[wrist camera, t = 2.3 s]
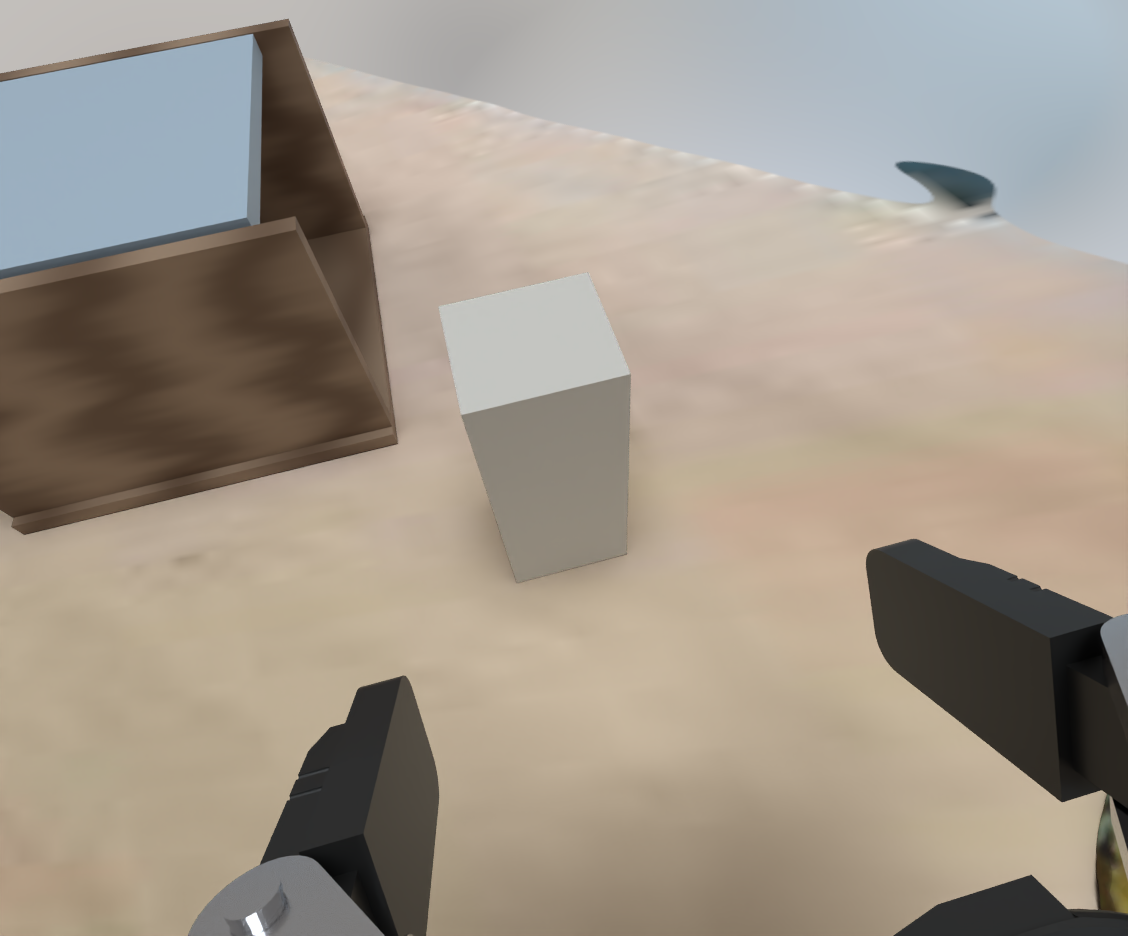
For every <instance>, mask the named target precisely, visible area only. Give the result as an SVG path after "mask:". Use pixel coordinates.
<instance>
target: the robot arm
mask: <svg viewBox="0 0 1128 936" xmlns="http://www.w3.org/2000/svg"><path fill="white" fill-rule="evenodd" d="M866 570H867V577H868V584H869V592H870V599H871V606H872V613H873V621H874V628H875V635H876V639H877V642H878V645H879V648H880V650H881V652H882V654H883V656H884V658H885V659H886V661H887V662H888V664H889V665H890V666H891V667H892V668H893V669H894V670H895V671H896V672H897V673H898V674H900V675H901V676H902V677H903V678H905V679H906V680H907V681H909V682H910V683H911V684H912V685H914V686H915V687H916V688H917V689H919V690H920V691H921V692H922V693H924V694H925V695H926V696H928V697H929V698H930V699H931V700H933V701H934V702H935V703H936V704H938V705H939V706H940V707H942V708H943V709H944V710H945V711H947V712H948V713H949V714H950V715H952V716H953V717H954V718H955V719H957V720H958V721H959V722H961V723H962V724H963V725H964V726H966V727H967V728H968V729H969V730H971V731H972V732H973V733H975V734H976V735H977V736H978V737H980V738H981V739H982V740H983V741H985V742H986V743H987V744H989V745H990V746H991V747H992V748H994V749H995V750H996V751H997V752H999V753H1000V754H1001V755H1002V756H1004V757H1005V758H1006V759H1008V760H1009V761H1010V762H1011V763H1013V764H1014V765H1015V766H1016V767H1018V768H1019V769H1020V770H1022V771H1023V772H1024V773H1025V774H1027V775H1028V776H1029V777H1030V778H1032V779H1033V780H1034V781H1035V782H1037V783H1038V784H1039V785H1041V786H1042V787H1043V788H1044V789H1046V790H1047V791H1048V792H1049V793H1051V794H1052V795H1053V796H1055V797H1056V798H1057V799H1058V800H1060V801H1061V802H1065V801H1068V800H1071V799H1074V798H1078V797H1081V796H1084V795H1087V794H1090V793H1094V792H1097V791H1100V790H1103V791H1104V792H1105V793H1107V794H1108V795H1110V812H1111V822H1112V826H1113V829H1114V833H1115V836H1116V840H1117V844H1118V847H1119V851H1120V854H1121V858H1122V862H1123V865H1124V869H1125V872H1126V876H1127V880H1128V614H1125V615H1121V616H1117V617H1115V618H1113V617H1111V616H1108V615H1106V614H1104V613H1101V612H1099V611H1097V610H1095V609H1092V608H1090V607H1088V606H1085V605H1083V604H1081V603H1078V602H1076V601H1074V600H1071V599H1069V598H1067V597H1064V596H1062V595H1060V594H1057V593H1055V592H1053V591H1050V590H1048V589H1043V590H1042V589H1041V588H1040V586H1039V585H1036V584H1034V583H1032V582H1030V581H1027V580H1025V579H1023V578H1022V579H1018V578H1017V576H1016V575H1013V574H1011V573H1009V572H1006V571H1004V570H1002V569H999V568H997V567H995V566H992V565H990V564H986V563H981V562H976V561H971V560H966V559H961V558H958V557H956V556H954V555H951V554H949V553H947V552H945V551H942V550H940V549H938V548H936V547H933V546H931V545H929V544H927V543H924V542H922V541H920V540H917V539H910V540H907V541H903V542H899V543H896V544H892V545H888V546H885V547H881V548H877V549H873V550H871V551H870V552H869V553H868V555H867V559H866ZM298 776H299V779H298V780H296V781H295V784H294V786H293V788H292V791H291V793H290V795H289V796H290V800H288V801H287V802H286V805H285V807H284V809H283V812H282V814H281V816H280V819H279V821H278V823H277V826H276V828H275V830H274V833H273V835H272V837H271V840H270V842H269V844H268V847H267V849H266V851H265V854H264V856H263V858H262V861H261V863H260V865H259V866H257V867H255V868H253V869H251V870H249V871H248V872H246V873H244V874H243V875H241V876H240V877H238V878H237V879H235V880H234V881H233V882H231V883H230V884H229V885H227V886H226V887H225V888H224V889H223V890H222V891H220V892H219V893H218V894H217V895H216V896H215V897H214V898H213V899H212V900H211V901H210V902H209V903H208V904H207V906H206V907H205V908H204V909H203V911H202V912H201V913H200V914H199V916H198V917H197V919H196V921H195V922H194V924H193V925H192V928H191V930H190V932H189V934H188V936H426V929H427V919H428V909H429V898H430V888H431V877H432V867H433V856H434V846H435V836H436V825H437V815H438V804H439V786H438V777H437V771H436V766H435V762H434V758H433V754H432V751H431V748H430V745H429V741H428V738H427V735H426V732H425V728H424V725H423V722H422V719H421V715H420V712H419V709H418V706H417V702H416V699H415V696H414V693H413V690H412V687H411V684H410V682H409V680H408V678H407V677H406V676H400V677H397V678H393V679H389V680H386V681H382V682H378V683H375V684H371V685H367V686H364V687H360V688H359V689H358V690H357V692H356V695H355V698H354V701H353V703H352V706H351V709H350V712H349V714H348V717H347V720H346V723H345V724H341V725H337V726H334V727H330V728H329V729H328V730H327V732H326V733H325V734H324V735H323V736H322V737H321V738H320V739H319V740H318V741H317V742H316V744H315V745H314V746H313V747H312V748H311V749H310V750H309V751H308V754H307V756H306V758H305V761H304V763H303V765H302V768H301V770H300V772H299V774H298ZM894 936H1128V913H1121V912H1114V911H1106V910H1088V909H1066V908H1065V907H1064V906H1063V905H1062V904H1061V903H1060V902H1059V901H1058V900H1057V899H1056V898H1055V897H1054V896H1053V895H1052V894H1051V893H1050V892H1049V891H1048V890H1047V889H1046V888H1045V887H1044V886H1042V885H1041V884H1040V883H1039V882H1038V881H1037V880H1036V879H1035V878H1034V877H1033V876H1032V875H1030V876H1026V877H1023V878H1020V879H1017V880H1014V881H1011V882H1007V883H1004V884H1001V885H998V886H995V887H992V888H989V889H985V890H982V891H979V892H976V893H973V894H970V895H967V896H963V897H960V898H957V899H954V900H951V901H948V902H945V903H941V904H938V905H936V906H935V907H934V908H932V909H931V910H929V911H928V912H926V913H925V914H924V915H922V916H921V917H919V918H918V919H916V920H915V921H914V922H912V923H911V924H909V925H908V926H906V927H905V928H904V929H902V930H901V931H899V932H898V933H896V934H895V935H894Z"/></svg>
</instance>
